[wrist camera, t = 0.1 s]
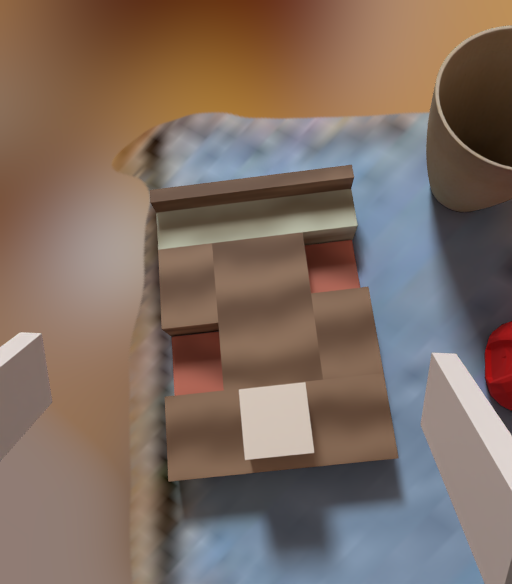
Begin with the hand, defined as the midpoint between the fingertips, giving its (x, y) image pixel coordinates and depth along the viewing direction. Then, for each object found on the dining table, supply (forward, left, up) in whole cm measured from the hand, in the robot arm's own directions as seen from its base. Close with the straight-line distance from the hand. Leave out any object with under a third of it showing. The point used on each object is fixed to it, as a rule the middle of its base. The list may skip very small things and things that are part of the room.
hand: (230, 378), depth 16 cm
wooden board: (+9, -4, -36) cm, 37 cm away
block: (-1, 0, -32) cm, 32 cm away
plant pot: (+14, -32, -36) cm, 50 cm away
